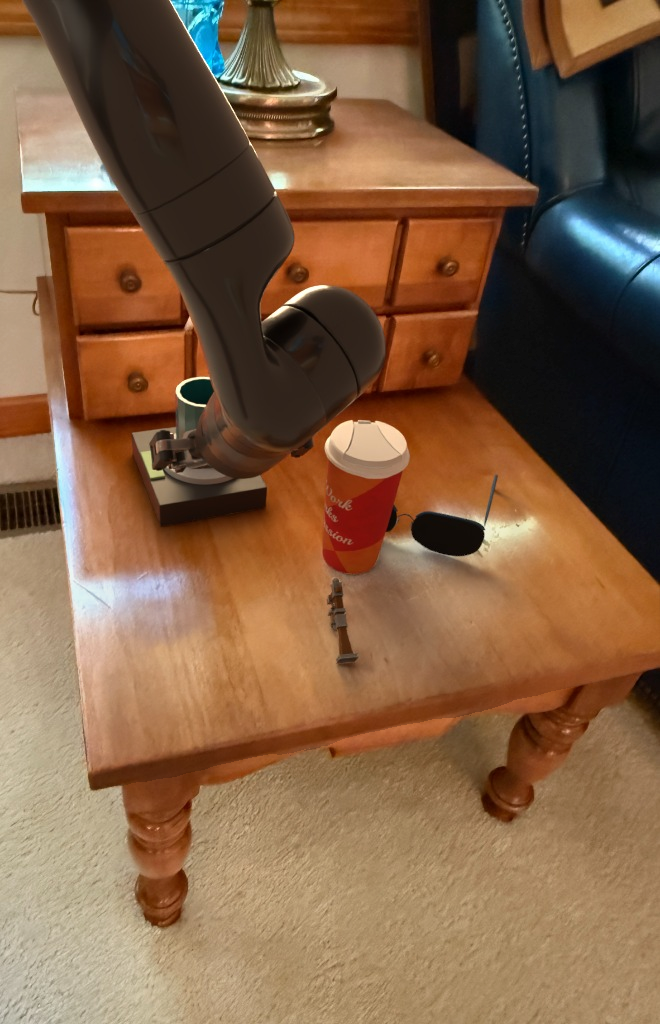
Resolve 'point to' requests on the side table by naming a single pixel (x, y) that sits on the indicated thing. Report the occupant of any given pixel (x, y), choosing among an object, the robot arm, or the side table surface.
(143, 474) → the scale
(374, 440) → the coffee cup
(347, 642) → the wooden post with brackets
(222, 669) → the side table surface
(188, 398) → the teal open tube
